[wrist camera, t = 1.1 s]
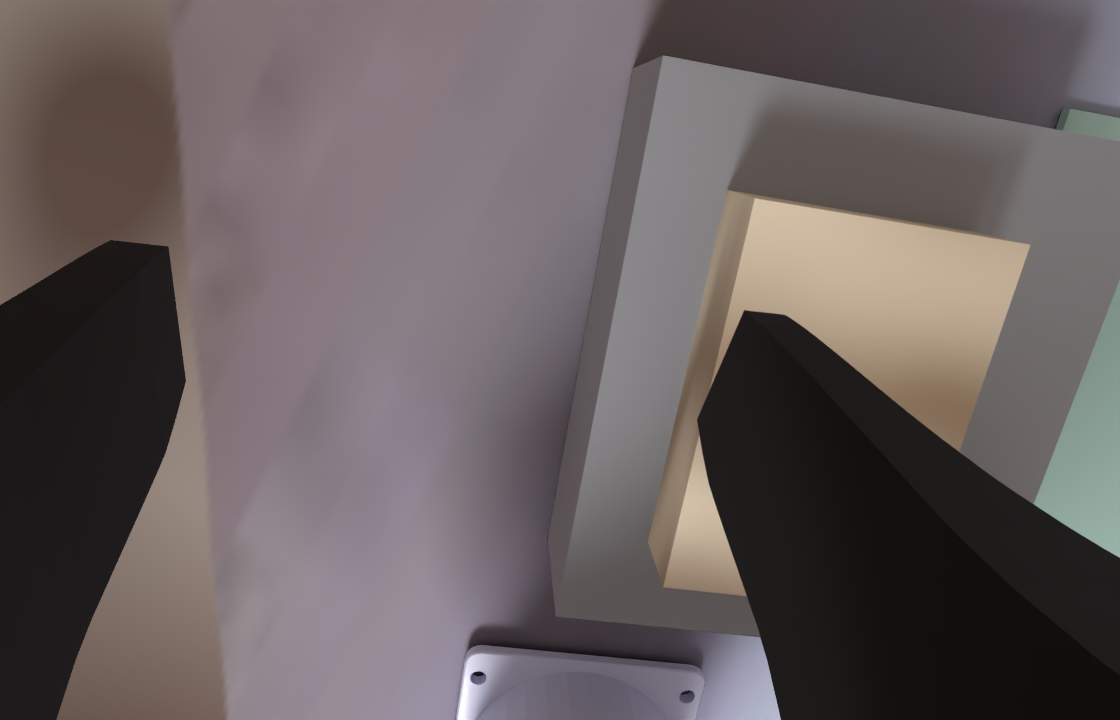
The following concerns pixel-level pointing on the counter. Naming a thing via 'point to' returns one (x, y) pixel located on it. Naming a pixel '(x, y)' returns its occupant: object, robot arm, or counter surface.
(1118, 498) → the mat
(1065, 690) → the robot arm
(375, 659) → the counter surface
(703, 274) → the grey box
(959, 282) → the tan rectangular block
